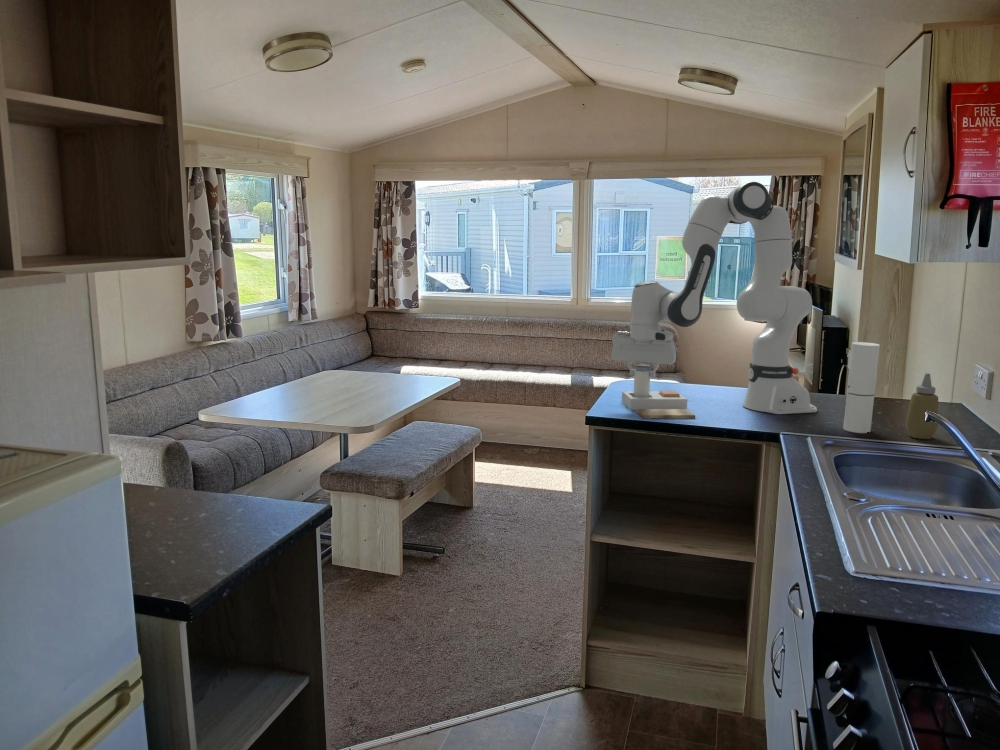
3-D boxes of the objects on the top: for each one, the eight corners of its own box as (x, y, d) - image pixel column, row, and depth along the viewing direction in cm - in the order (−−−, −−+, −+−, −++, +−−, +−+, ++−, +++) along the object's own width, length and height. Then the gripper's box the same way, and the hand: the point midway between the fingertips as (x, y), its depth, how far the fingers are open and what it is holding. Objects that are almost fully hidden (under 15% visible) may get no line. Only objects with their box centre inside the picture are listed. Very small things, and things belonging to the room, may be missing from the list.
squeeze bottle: (922, 442, 210) (930, 377, 207) (897, 434, 218) (904, 372, 214) (943, 439, 213) (951, 375, 210) (917, 432, 221) (924, 370, 217)
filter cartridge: (648, 394, 249) (650, 364, 247) (649, 398, 244) (651, 367, 242) (632, 394, 250) (634, 364, 247) (633, 398, 245) (635, 367, 242)
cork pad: (686, 412, 240) (686, 409, 240) (695, 418, 232) (695, 415, 232) (636, 412, 239) (636, 409, 239) (642, 418, 231) (643, 415, 231)
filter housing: (675, 401, 255) (675, 391, 254) (686, 410, 243) (687, 399, 243) (621, 401, 254) (622, 391, 253) (630, 410, 242) (631, 399, 241)
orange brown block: (674, 402, 251) (674, 390, 251) (678, 406, 247) (679, 393, 246) (659, 402, 251) (659, 390, 250) (663, 406, 246) (664, 393, 245)
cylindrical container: (865, 427, 225) (874, 342, 221) (874, 433, 218) (883, 346, 214) (839, 426, 226) (848, 341, 221) (848, 432, 219) (857, 345, 214)
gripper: (609, 331, 245) (607, 374, 247) (673, 335, 236) (671, 380, 238) (615, 329, 250) (613, 371, 253) (678, 333, 242) (676, 377, 244)
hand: (642, 376), depth 245 cm, fingers closed on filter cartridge, 5 cm apart
